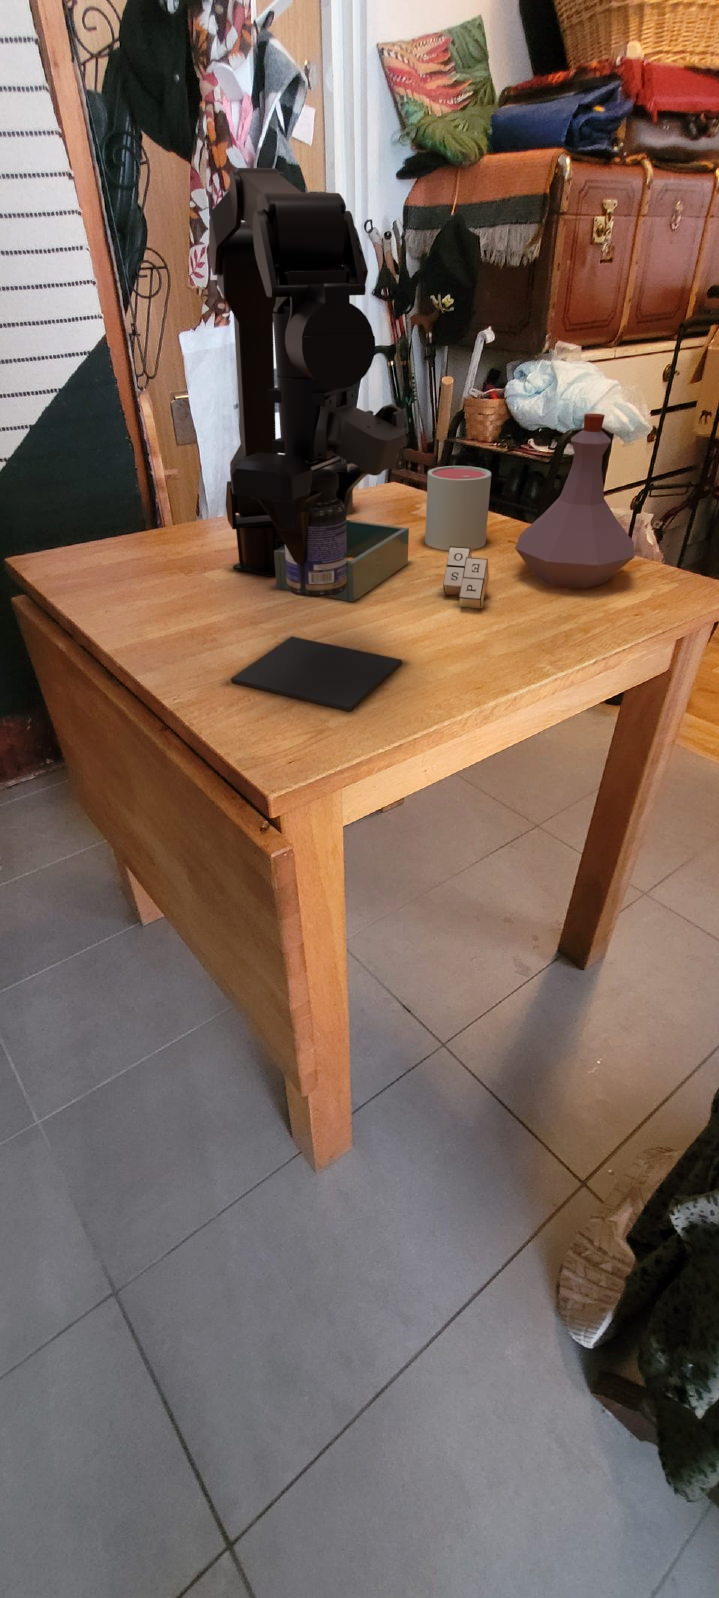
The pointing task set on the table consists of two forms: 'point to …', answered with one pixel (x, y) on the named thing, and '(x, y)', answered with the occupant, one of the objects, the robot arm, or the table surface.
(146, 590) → the table surface
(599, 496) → the flask
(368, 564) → the teal open box
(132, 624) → the table surface
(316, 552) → the pill bottle
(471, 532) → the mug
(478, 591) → the building blocks
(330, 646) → the mat
